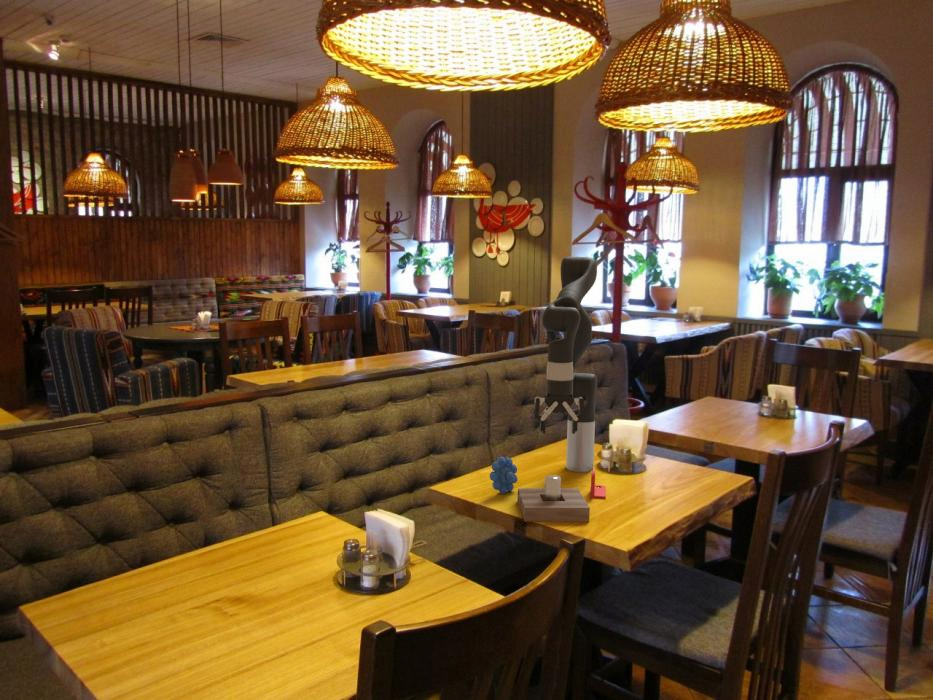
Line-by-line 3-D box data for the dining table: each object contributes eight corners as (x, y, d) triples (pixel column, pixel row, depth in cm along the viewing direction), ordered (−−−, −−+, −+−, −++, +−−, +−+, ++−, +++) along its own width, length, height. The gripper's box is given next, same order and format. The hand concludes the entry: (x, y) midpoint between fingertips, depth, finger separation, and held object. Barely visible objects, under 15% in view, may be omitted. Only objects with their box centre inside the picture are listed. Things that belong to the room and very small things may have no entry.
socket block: (517, 501, 231) (517, 488, 231) (577, 501, 232) (577, 488, 231) (524, 521, 213) (524, 507, 213) (589, 521, 214) (589, 507, 213)
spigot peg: (543, 508, 225) (544, 475, 223) (558, 508, 225) (559, 475, 224) (545, 513, 220) (546, 479, 219) (561, 513, 220) (562, 479, 219)
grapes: (500, 500, 231) (501, 461, 230) (484, 495, 236) (485, 457, 235) (526, 493, 239) (527, 455, 238) (510, 488, 244) (511, 451, 243)
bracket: (605, 500, 234) (606, 474, 233) (590, 499, 235) (591, 473, 234) (605, 488, 246) (606, 464, 245) (591, 487, 247) (592, 463, 246)
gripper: (582, 375, 224) (580, 430, 226) (533, 375, 223) (532, 430, 225) (587, 379, 216) (585, 436, 218) (536, 379, 216) (535, 436, 218)
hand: (558, 433), depth 222 cm, fingers open, 8 cm apart
